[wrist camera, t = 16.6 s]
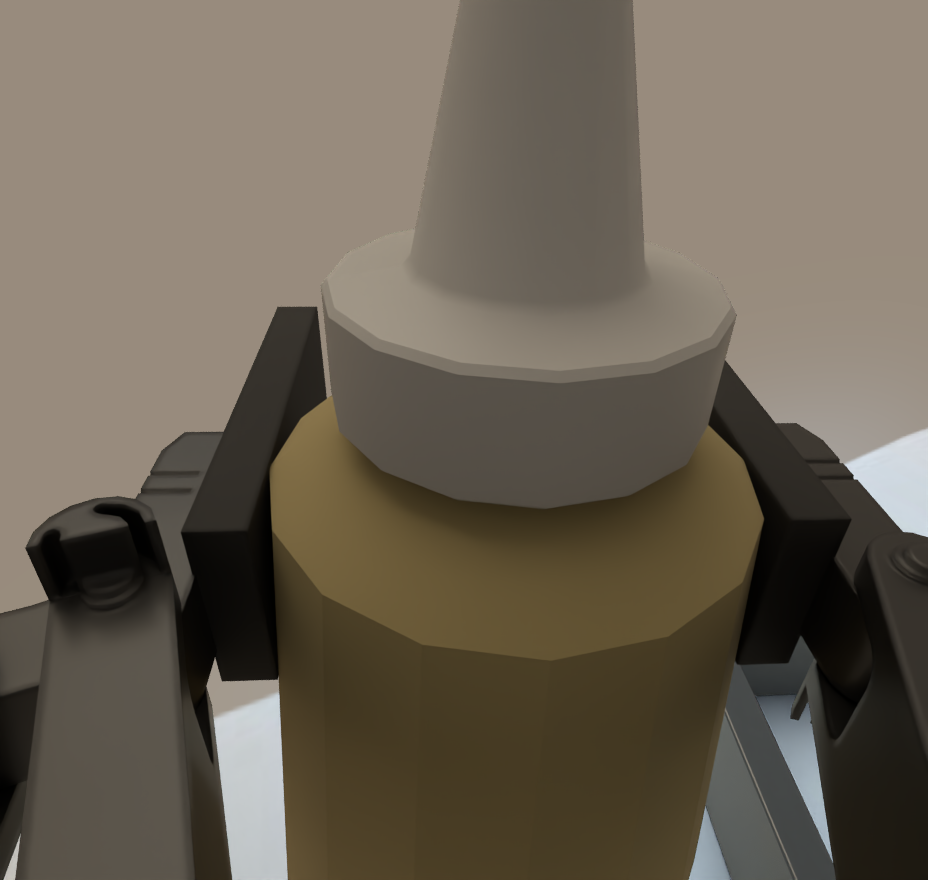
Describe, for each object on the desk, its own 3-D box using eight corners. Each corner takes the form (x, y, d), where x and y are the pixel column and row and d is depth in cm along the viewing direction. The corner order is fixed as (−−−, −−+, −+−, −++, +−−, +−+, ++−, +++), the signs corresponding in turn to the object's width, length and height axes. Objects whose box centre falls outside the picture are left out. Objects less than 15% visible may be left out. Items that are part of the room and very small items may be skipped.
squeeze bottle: (674, 771, 18) (975, -96, 8) (634, 1202, 12) (1903, -429, 2) (392, 682, 20) (347, -95, 10) (226, 1005, 14) (-352, -234, 4)
